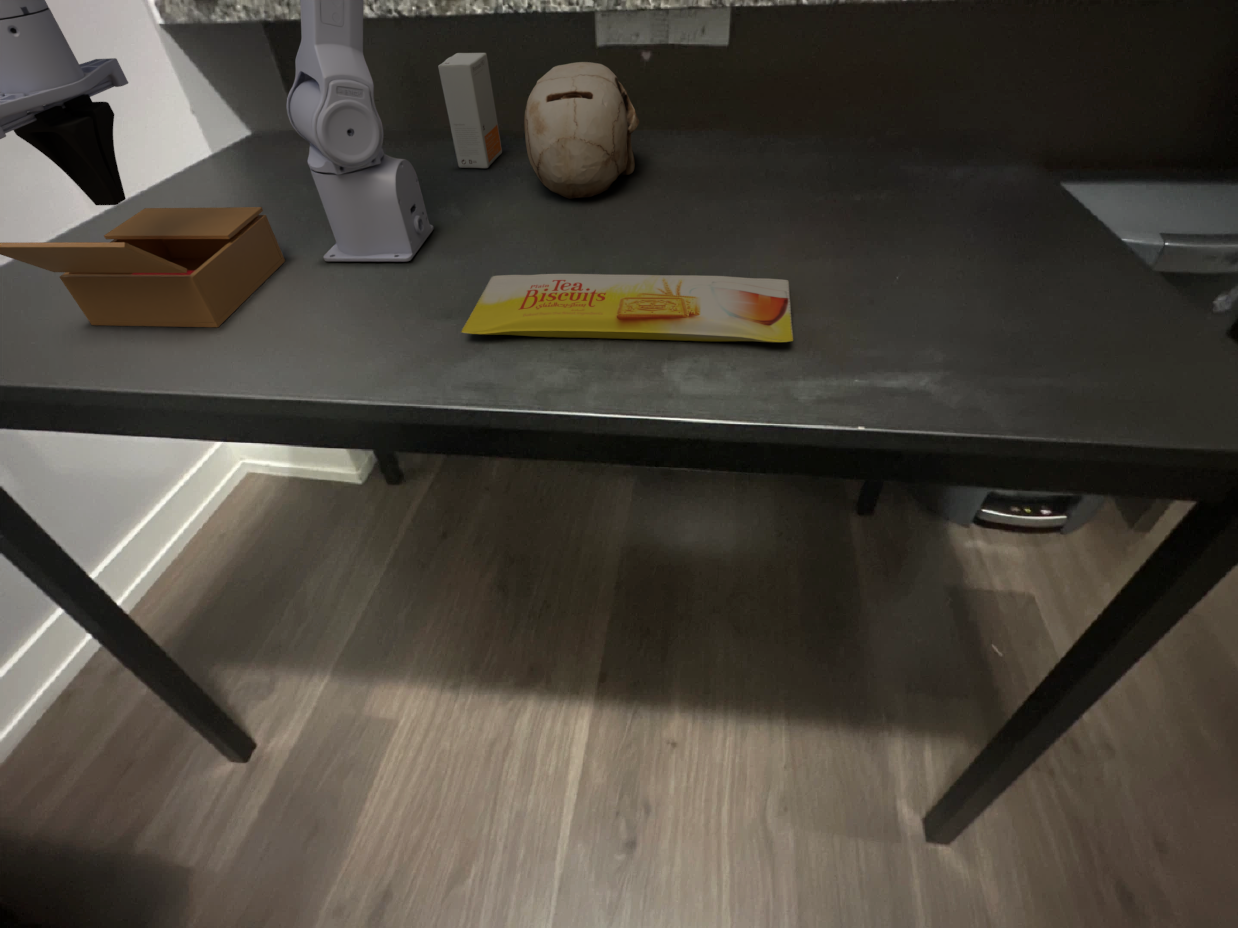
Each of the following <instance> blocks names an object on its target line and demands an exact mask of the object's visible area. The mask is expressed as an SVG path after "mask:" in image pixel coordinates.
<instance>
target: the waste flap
mask: <svg viewBox="0 0 1238 928" xmlns="http://www.w3.org/2000/svg"><path fill="white" fill-rule="evenodd" d="M0 256H3V257H7V258H9V259H12V260H15V261H18V262H21V263H24V264H27V265H30V266H34V267H37V268H39V269H43V270H46V271H49V272H51V273H65V272H81V273H187V269H186V268H184V267H182V266H179V265H177V264H175V263H172V262H170V261H167V260H165V259H163V258H160V257H158V256H156V255H153V254H151V253H149V252H146V251H144V250H141V249H139V248H137V247H134V246H132V245H130V244H127V243H125V242H111V241H109V242H108V241H105V242H104V241H101V242H98V241H96V242H94V241H93V242H92V241H91V242H90V241H89V242H80V241H79V242H75V241H73V242H72V241H71V242H70V241H69V242H62V241H61V242H58V241H57V242H52V241H51V242H49V241H47V242H42V241H41V242H39V241H38V242H29V241H27V242H0Z"/></svg>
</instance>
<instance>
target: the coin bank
mask: <svg viewBox="0 0 1238 928" xmlns="http://www.w3.org/2000/svg"><path fill="white" fill-rule="evenodd" d="M623 85H624V84H622V83H621V82H620V81H619V80H618V77H617V75H615V73H614V72H613V71H612V70H611V69H610V68H609V67H608V66H606V65H604V64H602V63H597V62H592V61H591V62H590V61H589V62H588V61H579V62H578V61H577V62H571V63H566V64H559V65H555V66H553V67H552V68H551V69H550V70H548V71H547V72H546V73H545V74H543V76H541V77H540V78H539V79H538V80H537V81H536V84H535V85H534V87H533V88H532V89H531V92H530V94H529V95H528V97H527V101H526V105H525V110H524V117H523V118H524V121H523V122H524V124H523V125H524V135H525V136H524V138H525V146H526V151H527V152H526V153H527V158H528V161H529V164H530V166H531V168H532V169H533V171H534V173H535V175H536V177H537V178H538V179H539V181H540V182H541V184H542V185H543V186H544V187H546V188H547V189H548V190H549V191H551V192H552V193H554V194H557V195H559V196H561V197H563V198H565V199H570V200H571V199H578V198H579V199H580V198H581V199H582V198H590V197H595V196H597V195H600V194H602V193H604V192H607V191H608V190H609V189H610V187H611V185H612V184H613V183H614V182H615V181H616V180H617V179H618V177H619V176H628V175H629V176H630V175H631V174H632V173H634V171H635V166H636V164H635V157H634V151H633V147H632V134H633V133H634V132H635V131H636V129H637V128H638V126H639V124H640V120H639V118H638V115H637V113H636V110H635V109H636V108H635V106H633V103H632V101H631V99H630V97H629V95H628V91H627V90H626V88H625V87H624V86H623Z"/></svg>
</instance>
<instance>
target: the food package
mask: <svg viewBox="0 0 1238 928" xmlns="http://www.w3.org/2000/svg"><path fill="white" fill-rule="evenodd" d="M790 292H791V291H790V282H789V280H787V279H781V278H780V279H778V278H762V277H761V278H759V277H757V278H755V277H753V278H752V277H739V276H726V275H695V274H693V275H692V274H691V275H686V274H685V275H682V274H681V275H679V274H678V275H675V274H674V275H673V274H671V275H669V274H668V275H667V274H665V275H664V274H663V275H662V274H603V273H602V274H601V273H599V274H598V273H540V274H505V275H504V274H502V275H491V277H490V278H489V280H488V283H487V285H486V286H485V288H484V290H483V291H482V293H481V296H480V297H479V298H478V301H477V302H476V304H475V305H474V306H475V307H473V310H472V312H471V313H470V315H469V316H468V319H467V321H466V322H465V324H464V326H463V327H462V329H461V331H460V333H463V334H468V335H469V334H470V335H482V336H484V335H485V336H487V335H489V336H492V335H493V336H495V335H496V336H498V335H500V336H502V335H504V336H522V337H539V338H540V337H541V338H570V339H571V338H573V339H574V338H579V339H580V338H582V339H583V338H585V339H616V340H617V339H618V340H653V341H654V340H655V341H656V340H657V341H659V340H660V341H661V340H662V341H684V342H685V341H686V342H760V343H789V342H793V341H794V332H793V331H794V329H793V323H792V322H793V320H792V318H793V317H792V314H791V313H792V311H791V310H792V308H791V307H792V305H791V296H790V295H791V293H790Z"/></svg>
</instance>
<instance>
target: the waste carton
mask: <svg viewBox="0 0 1238 928" xmlns="http://www.w3.org/2000/svg"><path fill="white" fill-rule="evenodd" d="M263 212H264V209H263V207H262V206H252V207H251V206H248V207H247V206H245V207H244V206H243V207H241V206H239V207H238V206H236V207H235V206H233V207H232V206H230V207H229V206H228V207H224V206H223V207H145V208H143V209H141V210H140V211H139V212H137V213H135V214H134V215H133V216H131V217H129V218H128V219H126V220H125V221H123V222H122V223H120V224H119V225H117V226H115V227H114V228H113V229H112V230H110V231H108V232H107V233H105V234H104V235H103V237H104V239H105V240H111V241H110V242H125V243H127V244H130V245H132V246H134V247H137V248H139V249H141V250H144V251H146V252H149V253H151V254H153V255H156V256H158V257H160V258H163V259H165V260H167V261H170V262H172V263H175V264H177V265H179V266H182V267H184V268H186V269H187V270H195V271H194V272H193V273H192V274H191V275H131V274H133V273H81V272H63V274H61V275H59V279H60V280H61V281H62V283H63V285H64V286H65V288H66V289H67V291H68V292H69V294H70V296H71V297H72V298H73V300H74V301H75V303H76V304H77V306H78V307H79V308H80V310H81V311H82V313H83V314H84V316H85V317H86V319H87V320H88V322H89V324H90V325H91V326H107V327H108V326H111V327H112V326H113V327H114V326H115V327H118V326H119V327H169V328H170V327H171V328H173V327H175V328H176V327H177V328H178V327H179V328H219V327H220V326H221V325H222V324H223V323H224V322H225V321H226V320H227V319H228V318H229V317H231V315H232V314H233V313H234V312H235V311H236V310H237V309H238V308H239V307H241V306H242V304H243V303H244V302H246V300H248V298H250V297H251V295H252V294H253V293H255V291H256V290H258V289H259V288H260V287H261V286H262V284H264V283H265V282H266V281H267V280H268V279H269V278H270V277H271V276H272V275H273V274H274V273H275V272H276V271H277V270H278V269H279V268H280V267H281V266H282V265H284V264H285V262H286V259H285V256H284V254H283V252H282V250H281V247H280V245H279V243H278V240H277V238H276V235H275V234H274V230H273V228H272V225H271V223H270V221H269V219H268V217H267V215H266V214H262V213H263Z"/></svg>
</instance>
